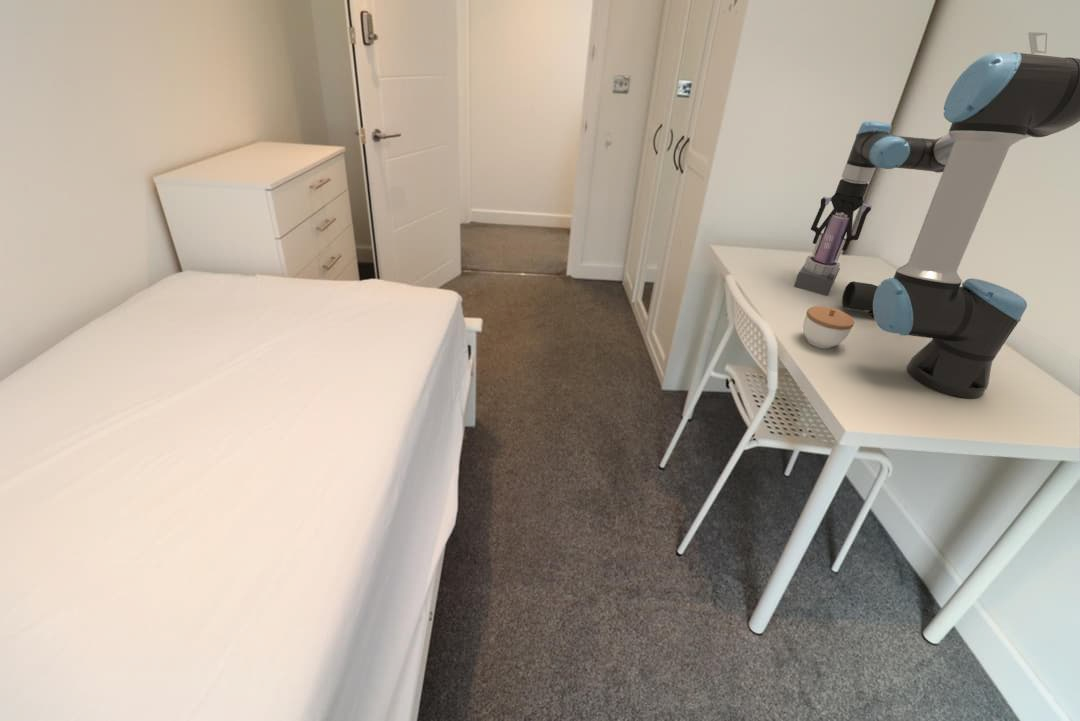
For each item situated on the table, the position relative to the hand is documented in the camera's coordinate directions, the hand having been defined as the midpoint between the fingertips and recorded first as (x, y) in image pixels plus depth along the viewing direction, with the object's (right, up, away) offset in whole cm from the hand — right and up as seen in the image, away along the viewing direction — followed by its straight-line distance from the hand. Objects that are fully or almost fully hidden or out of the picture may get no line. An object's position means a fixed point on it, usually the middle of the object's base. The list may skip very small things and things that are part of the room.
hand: (825, 256), depth 158 cm
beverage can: (0, -2, +1) cm, 2 cm away
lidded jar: (-18, -28, -29) cm, 44 cm away
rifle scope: (+11, -20, -13) cm, 26 cm away
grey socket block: (-1, -8, +5) cm, 9 cm away
